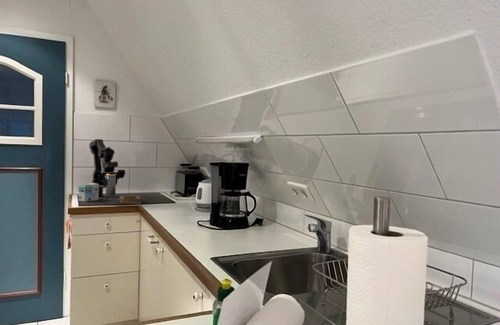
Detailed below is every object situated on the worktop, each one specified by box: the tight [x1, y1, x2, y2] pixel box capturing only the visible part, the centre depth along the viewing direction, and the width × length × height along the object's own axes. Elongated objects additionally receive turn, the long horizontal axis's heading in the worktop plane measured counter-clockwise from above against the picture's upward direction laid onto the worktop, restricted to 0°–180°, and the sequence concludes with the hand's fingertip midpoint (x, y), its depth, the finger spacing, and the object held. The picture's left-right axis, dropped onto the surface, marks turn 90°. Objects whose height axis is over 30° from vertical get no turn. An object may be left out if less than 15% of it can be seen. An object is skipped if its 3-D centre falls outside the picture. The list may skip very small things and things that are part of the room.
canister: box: [105, 174, 117, 196], centre depth 238 cm, size 6×6×13 cm
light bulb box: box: [78, 182, 99, 202], centre depth 248 cm, size 11×7×11 cm, turn 148°
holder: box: [119, 195, 142, 205], centre depth 247 cm, size 12×12×3 cm
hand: (111, 184), depth 237 cm, fingers closed on canister, 6 cm apart
